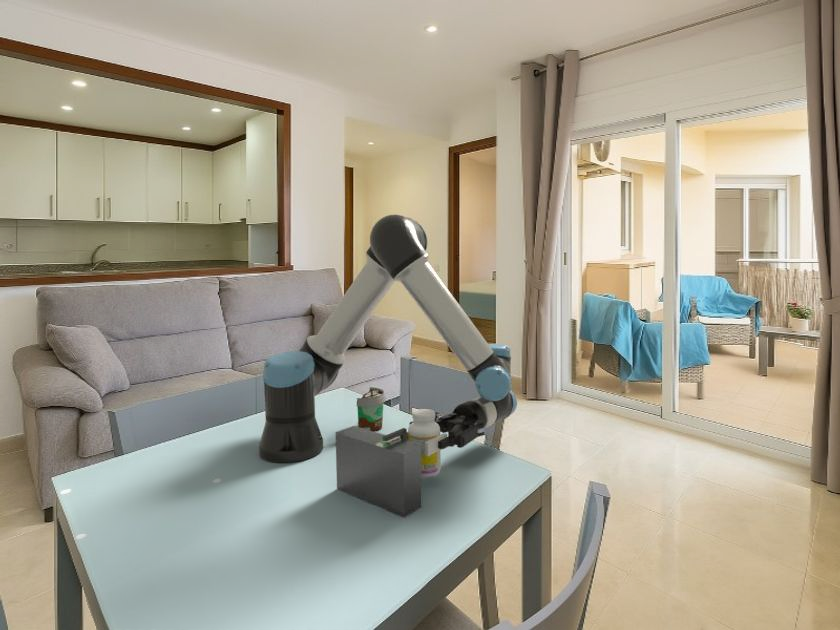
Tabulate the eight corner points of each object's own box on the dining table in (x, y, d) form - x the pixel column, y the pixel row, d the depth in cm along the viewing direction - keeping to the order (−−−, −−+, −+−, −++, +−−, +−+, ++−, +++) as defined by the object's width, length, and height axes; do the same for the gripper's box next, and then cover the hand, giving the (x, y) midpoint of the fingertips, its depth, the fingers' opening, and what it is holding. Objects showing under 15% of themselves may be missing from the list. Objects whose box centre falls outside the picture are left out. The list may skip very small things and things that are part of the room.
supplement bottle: (418, 462, 110) (417, 405, 108) (445, 468, 106) (445, 409, 105) (402, 474, 104) (401, 414, 102) (431, 481, 101) (431, 419, 99)
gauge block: (336, 489, 102) (335, 431, 101) (354, 480, 106) (353, 424, 105) (404, 517, 91) (403, 452, 90) (421, 506, 95) (421, 444, 94)
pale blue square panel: (355, 487, 101) (354, 427, 99) (376, 477, 105) (375, 420, 104) (392, 502, 95) (392, 439, 93) (413, 491, 99) (412, 430, 98)
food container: (379, 437, 132) (378, 399, 130) (357, 435, 133) (356, 398, 132) (391, 421, 144) (391, 387, 142) (370, 420, 145) (370, 386, 144)
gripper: (510, 440, 113) (451, 476, 95) (440, 423, 125) (376, 451, 108) (511, 408, 112) (451, 437, 95) (440, 393, 125) (376, 417, 107)
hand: (412, 445), depth 101 cm, fingers closed on supplement bottle, 7 cm apart
